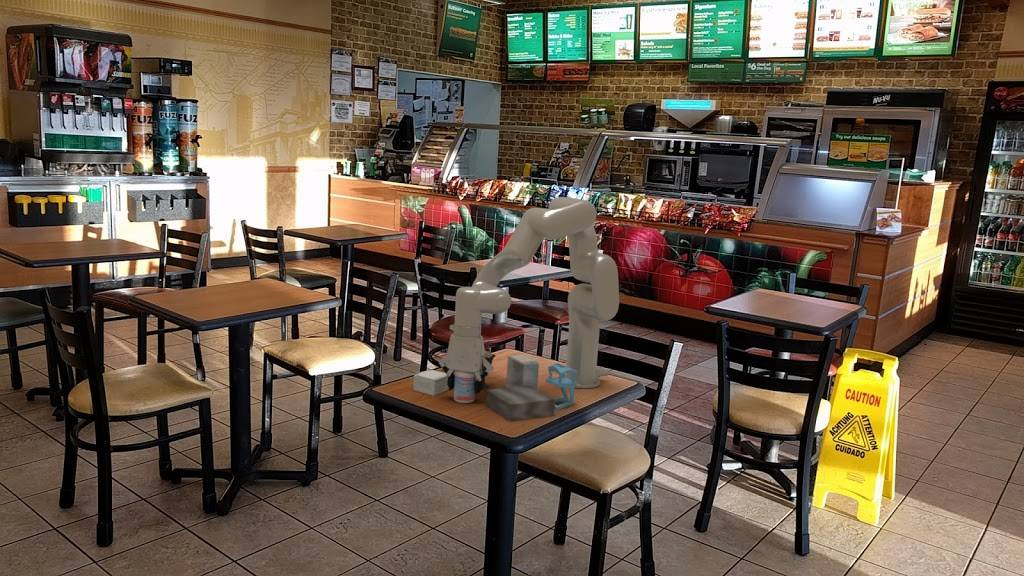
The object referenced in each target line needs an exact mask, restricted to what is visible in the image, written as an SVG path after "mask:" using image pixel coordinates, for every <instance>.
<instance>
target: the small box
mask: <svg viewBox="0 0 1024 576" xmlns="http://www.w3.org/2000/svg"><path fill="white" fill-rule="evenodd" d="M447 384H448V376H447V375H446V373H445V372H444V371H442V372H441V371H437V370H434V369H428V370H425V371H420V372H419V373H415V374H414V375H413V388H412V389H413V390H412V391H414V390H415V392H418V391H419V392H418V393H421V392H422V394H426V395H430V396H432V397H433V396H436V395H438V394H441V393H444V392H446V391H450V390H449V386H447Z"/></svg>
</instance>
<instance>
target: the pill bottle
mask: <svg viewBox="0 0 1024 576" xmlns="http://www.w3.org/2000/svg"><path fill="white" fill-rule="evenodd" d="M454 374H455V382H454V388H453V400H454V401H455V402H456V403H460V404H470V403H473V402H474V401H475V399H476V398H475V397H476V394H475V382H476V380H477V377H476V375H475V373H472V372H464V371H457V370H455V372H454Z"/></svg>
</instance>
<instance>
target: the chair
mask: <svg viewBox="0 0 1024 576" xmlns="http://www.w3.org/2000/svg"><path fill="white" fill-rule="evenodd" d="M547 369H548V374H549V376H548V377H547V378H546V379H545V382H546V383H547V384H552V385H554V386H555V387H557V388H559V389H560V391H561V393H562V395H563V397H553V398H554V399H555V403H556V402H558V403H559V402H561V404H559V405H557V404H555V408H554V410H556V411H557V410H560V409H563V408H566V407H569V406H571V405H574V404H575V386H576V385H577V382H576V381H575V380H574V377H575V374H576V372H577V370H573V369H571V368H568V367H566V365H562V364H561V363H557V362H555V363H553V364H551V365H549V366H548V367H547ZM552 372H554V373H556V374H557V375H558V377H553V373H552ZM567 372H572V373H573V375H572V380H570V379H568V378H566V377H565V375H566V373H567ZM566 388H567V389H568V391H569V395H568V392H567V391H566V390H567V389H566ZM562 402H563V403H562Z"/></svg>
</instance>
